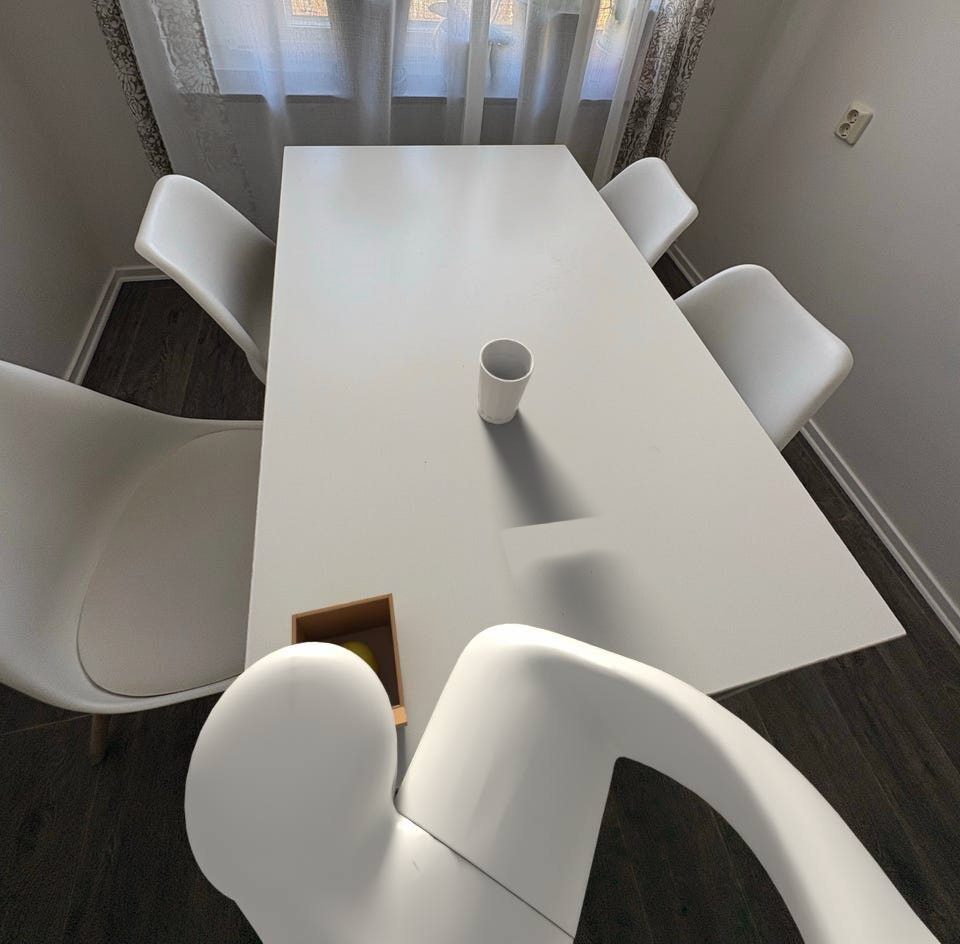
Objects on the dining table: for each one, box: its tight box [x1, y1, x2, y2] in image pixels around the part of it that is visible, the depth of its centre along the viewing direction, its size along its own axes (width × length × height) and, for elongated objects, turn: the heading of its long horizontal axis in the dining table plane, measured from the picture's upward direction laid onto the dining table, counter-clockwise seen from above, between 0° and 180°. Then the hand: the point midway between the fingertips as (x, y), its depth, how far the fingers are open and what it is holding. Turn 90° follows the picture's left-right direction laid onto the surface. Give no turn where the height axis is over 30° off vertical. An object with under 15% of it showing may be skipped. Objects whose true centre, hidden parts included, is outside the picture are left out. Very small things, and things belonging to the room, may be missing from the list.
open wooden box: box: [291, 592, 406, 710], centre depth 53 cm, size 10×10×10 cm
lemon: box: [340, 641, 379, 677], centre depth 54 cm, size 6×6×8 cm
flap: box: [392, 706, 408, 730], centre depth 44 cm, size 5×10×1 cm
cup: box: [476, 337, 536, 425], centre depth 80 cm, size 8×8×12 cm
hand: (348, 794), depth 40 cm, fingers closed
